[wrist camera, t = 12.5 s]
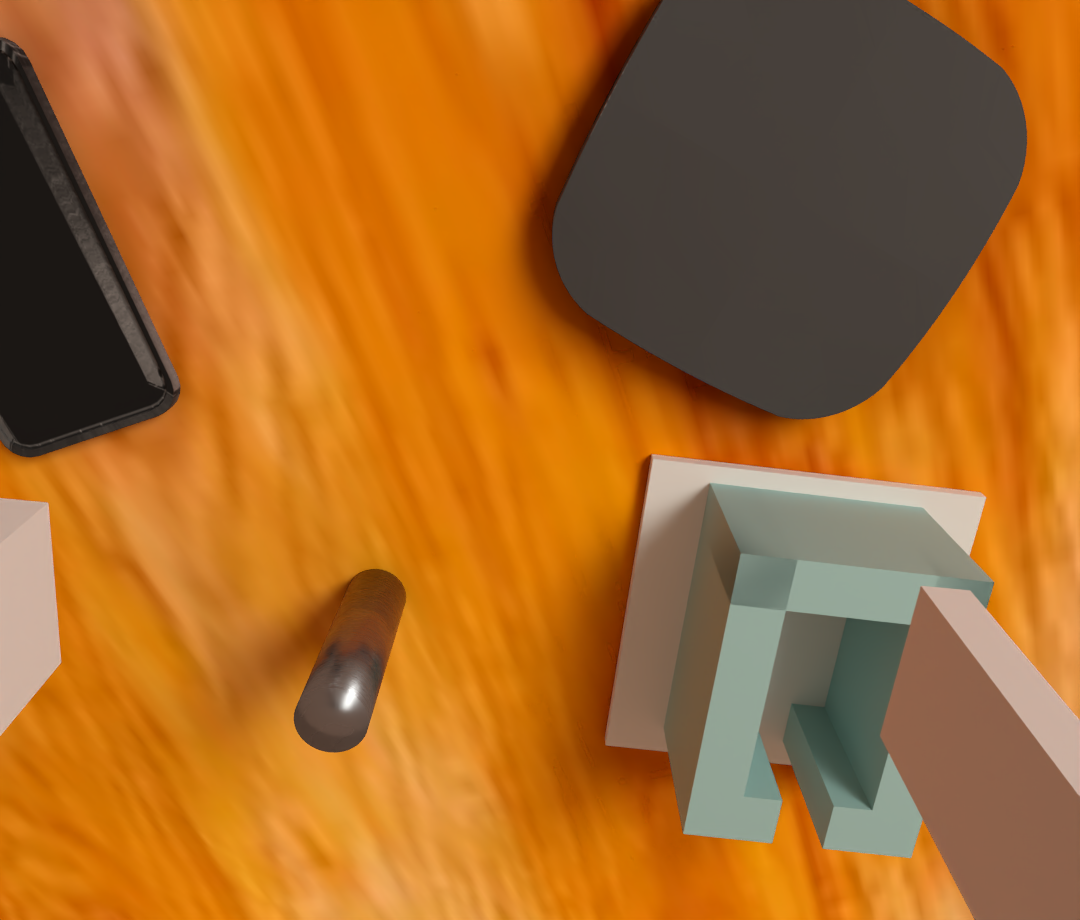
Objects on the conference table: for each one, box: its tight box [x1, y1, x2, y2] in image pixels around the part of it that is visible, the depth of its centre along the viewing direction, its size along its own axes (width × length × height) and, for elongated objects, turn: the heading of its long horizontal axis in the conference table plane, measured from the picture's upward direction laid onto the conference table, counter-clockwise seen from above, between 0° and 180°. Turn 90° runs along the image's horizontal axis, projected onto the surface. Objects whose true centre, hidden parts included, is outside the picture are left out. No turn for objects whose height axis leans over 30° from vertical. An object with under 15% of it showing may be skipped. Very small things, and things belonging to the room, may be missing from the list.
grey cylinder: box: [294, 569, 406, 752], centre depth 39 cm, size 3×3×10 cm
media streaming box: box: [552, 0, 1027, 419], centre depth 36 cm, size 15×15×3 cm
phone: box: [0, 37, 180, 457], centre depth 38 cm, size 8×1×15 cm
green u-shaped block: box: [664, 483, 994, 858], centre depth 40 cm, size 12×9×7 cm
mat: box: [605, 454, 986, 765], centre depth 43 cm, size 14×14×1 cm
